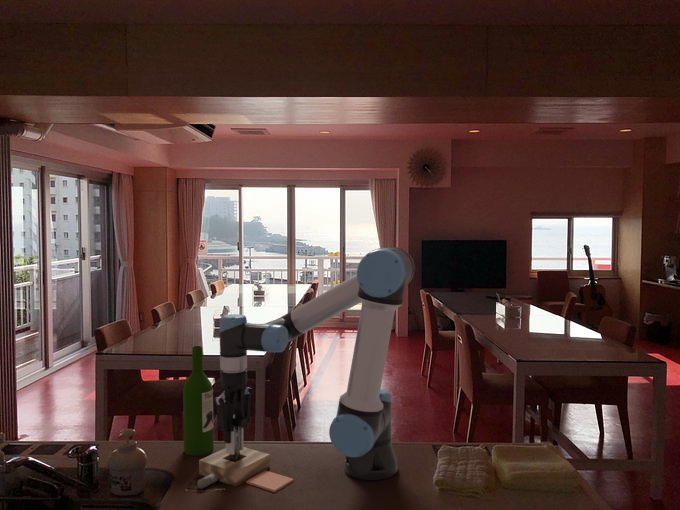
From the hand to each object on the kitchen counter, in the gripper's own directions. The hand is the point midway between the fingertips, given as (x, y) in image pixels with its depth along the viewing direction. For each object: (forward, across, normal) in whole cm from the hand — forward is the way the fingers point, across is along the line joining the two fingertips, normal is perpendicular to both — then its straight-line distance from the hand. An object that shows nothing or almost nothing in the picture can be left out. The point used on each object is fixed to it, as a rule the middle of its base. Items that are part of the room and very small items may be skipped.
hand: (234, 451), depth 163 cm
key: (+5, 0, 0) cm, 5 cm away
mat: (+6, 0, +13) cm, 14 cm away
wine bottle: (+6, -5, -20) cm, 22 cm away
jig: (+6, +3, 0) cm, 7 cm away
